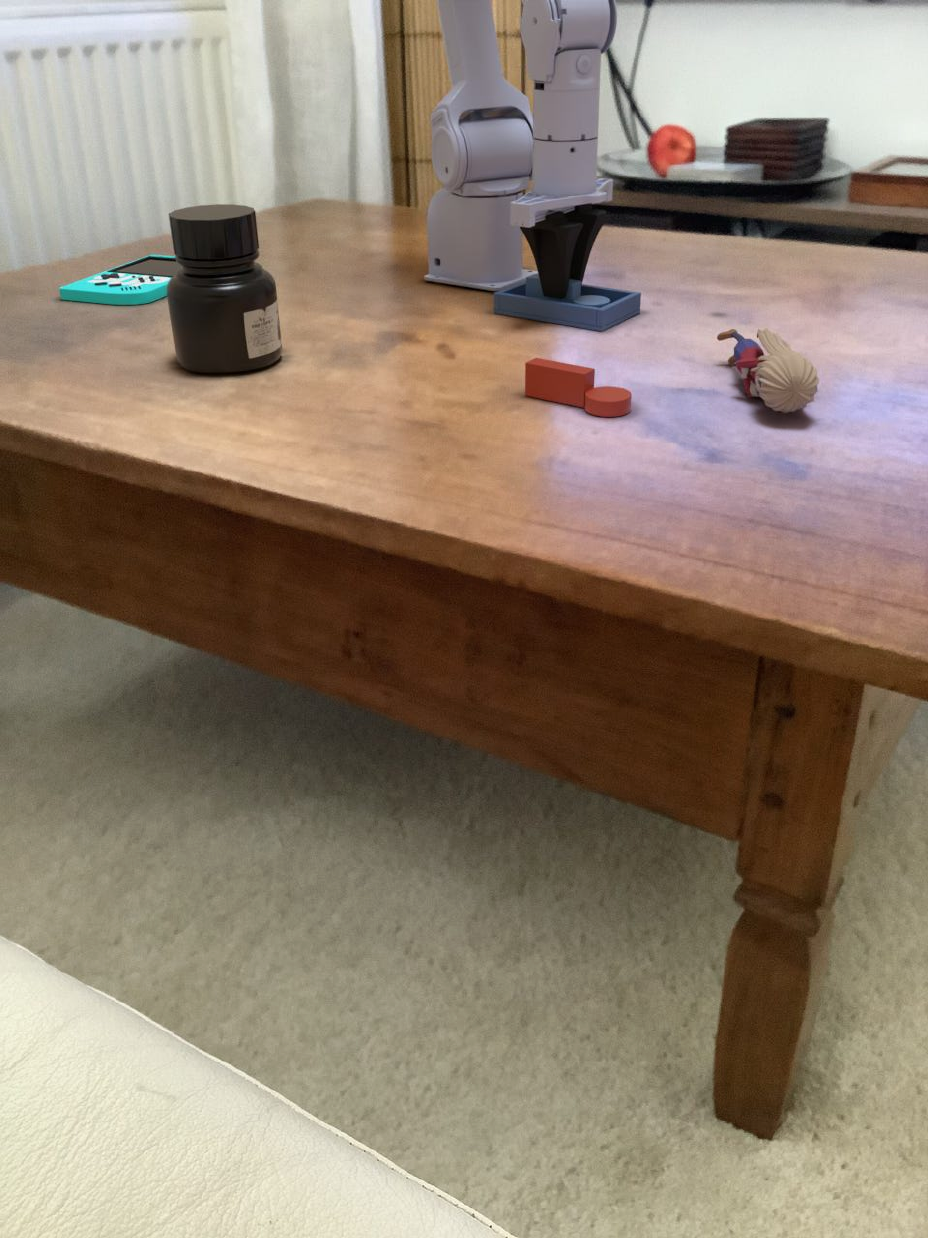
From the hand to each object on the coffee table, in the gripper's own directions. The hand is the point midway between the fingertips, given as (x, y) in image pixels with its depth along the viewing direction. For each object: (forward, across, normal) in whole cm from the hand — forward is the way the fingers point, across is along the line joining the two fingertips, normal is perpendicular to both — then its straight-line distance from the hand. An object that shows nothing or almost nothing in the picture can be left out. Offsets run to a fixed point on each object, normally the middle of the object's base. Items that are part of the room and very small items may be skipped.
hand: (561, 293), depth 106 cm
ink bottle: (+2, -28, +16) cm, 32 cm away
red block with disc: (+2, -21, -14) cm, 25 cm away
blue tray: (+2, 0, -1) cm, 2 cm away
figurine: (+2, -12, -25) cm, 28 cm away
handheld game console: (+2, -14, +43) cm, 45 cm away
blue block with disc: (+1, 0, 0) cm, 1 cm away
